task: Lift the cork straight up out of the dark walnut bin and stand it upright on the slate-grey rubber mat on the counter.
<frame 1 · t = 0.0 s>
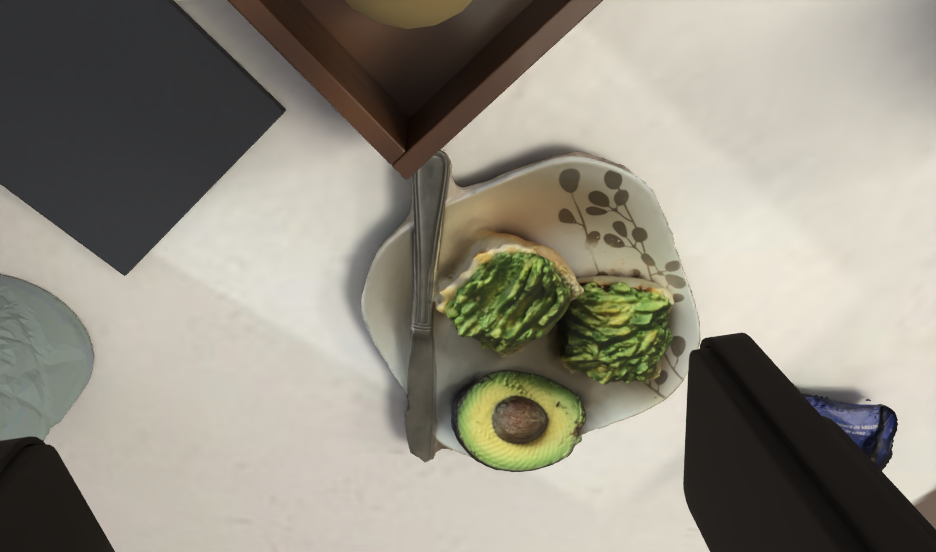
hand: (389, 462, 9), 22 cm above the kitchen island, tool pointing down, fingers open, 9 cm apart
green cylindrical cup: (8, 338, 32), on the kitchen island
avocado toast plate: (527, 319, 34), on the kitchen island
snack package: (785, 448, 39), on the kitchen island
mat: (93, 101, 27), on the kitchen island
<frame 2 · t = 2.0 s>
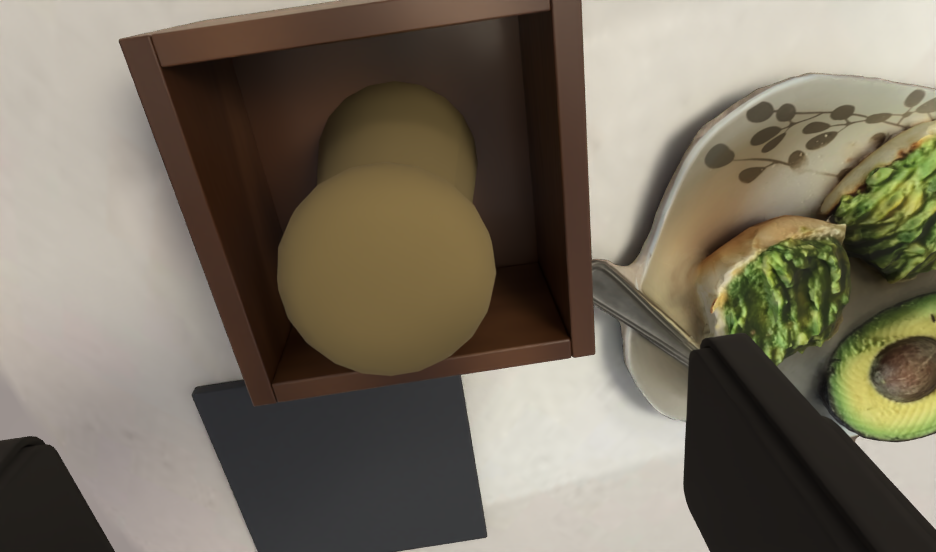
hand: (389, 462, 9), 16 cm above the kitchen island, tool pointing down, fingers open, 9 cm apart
avocado toast plate: (812, 274, 27), on the kitchen island
bin: (398, 159, 23), on the kitchen island
cork: (398, 162, 23), resting on bin
mat: (354, 464, 30), on the kitchen island
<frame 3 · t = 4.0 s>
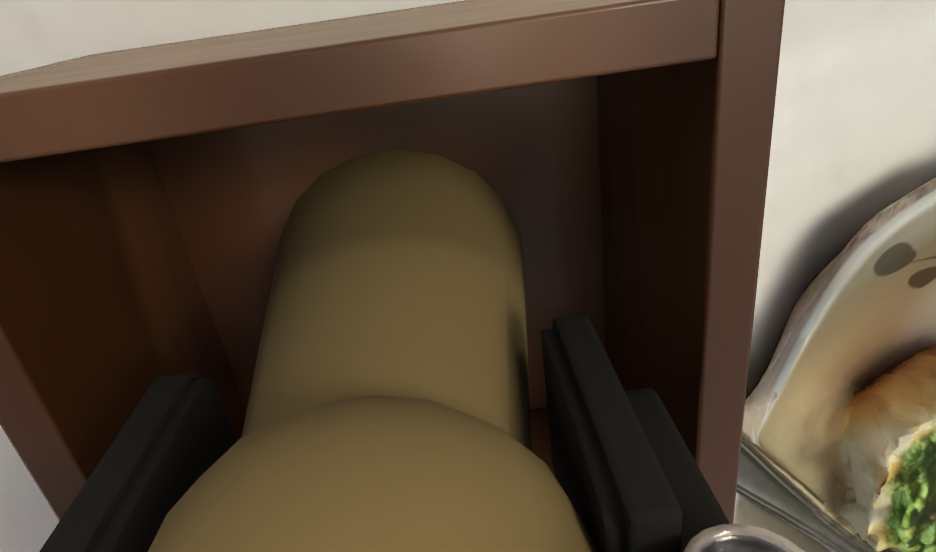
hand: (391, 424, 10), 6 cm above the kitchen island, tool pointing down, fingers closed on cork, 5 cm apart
bin: (404, 258, 16), on the kitchen island
cork: (403, 265, 15), resting on bin, touching gripper
when the fingers open (6 cm above the kitchen island, at t = 11.6 s): cork stays where it is, resting on mat.
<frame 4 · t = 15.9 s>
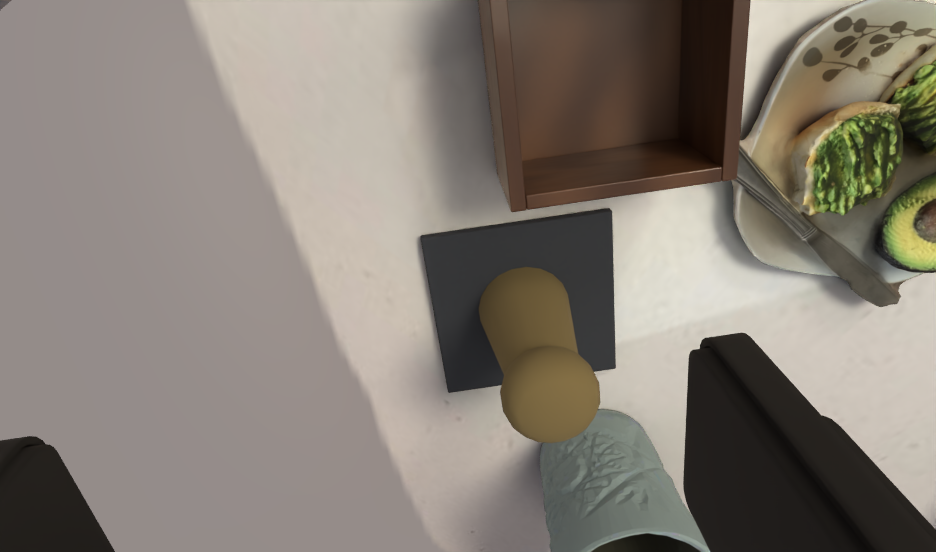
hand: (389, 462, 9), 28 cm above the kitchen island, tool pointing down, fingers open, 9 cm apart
green cylindrical cup: (589, 450, 47), on the kitchen island
avocado toast plate: (870, 155, 38), on the kitchen island
bin: (588, 60, 34), on the kitchen island
cork: (523, 306, 40), resting on mat
mat: (523, 303, 41), on the kitchen island
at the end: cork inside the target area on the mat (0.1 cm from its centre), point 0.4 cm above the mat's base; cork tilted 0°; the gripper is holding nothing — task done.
